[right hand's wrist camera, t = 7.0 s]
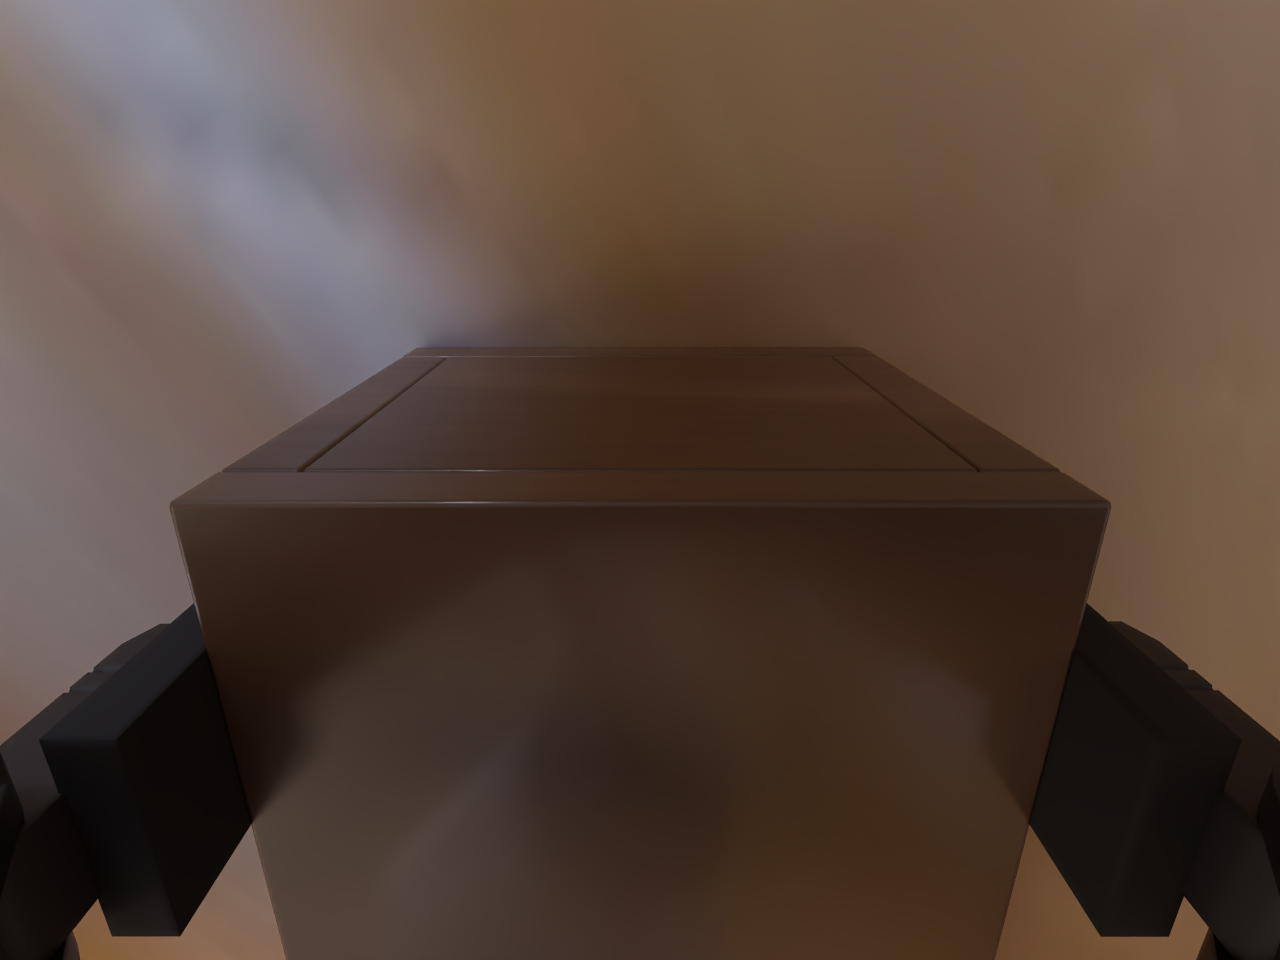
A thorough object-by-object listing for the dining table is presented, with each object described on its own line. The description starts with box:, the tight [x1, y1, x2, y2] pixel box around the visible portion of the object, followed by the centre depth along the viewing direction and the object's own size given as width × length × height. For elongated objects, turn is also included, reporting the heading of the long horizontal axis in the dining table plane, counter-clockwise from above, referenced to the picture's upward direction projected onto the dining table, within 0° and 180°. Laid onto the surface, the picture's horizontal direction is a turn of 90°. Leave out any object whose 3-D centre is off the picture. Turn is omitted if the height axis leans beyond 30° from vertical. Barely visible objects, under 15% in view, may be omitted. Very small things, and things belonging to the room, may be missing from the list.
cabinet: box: [170, 348, 1111, 960], centre depth 15 cm, size 20×10×9 cm, turn 0°
